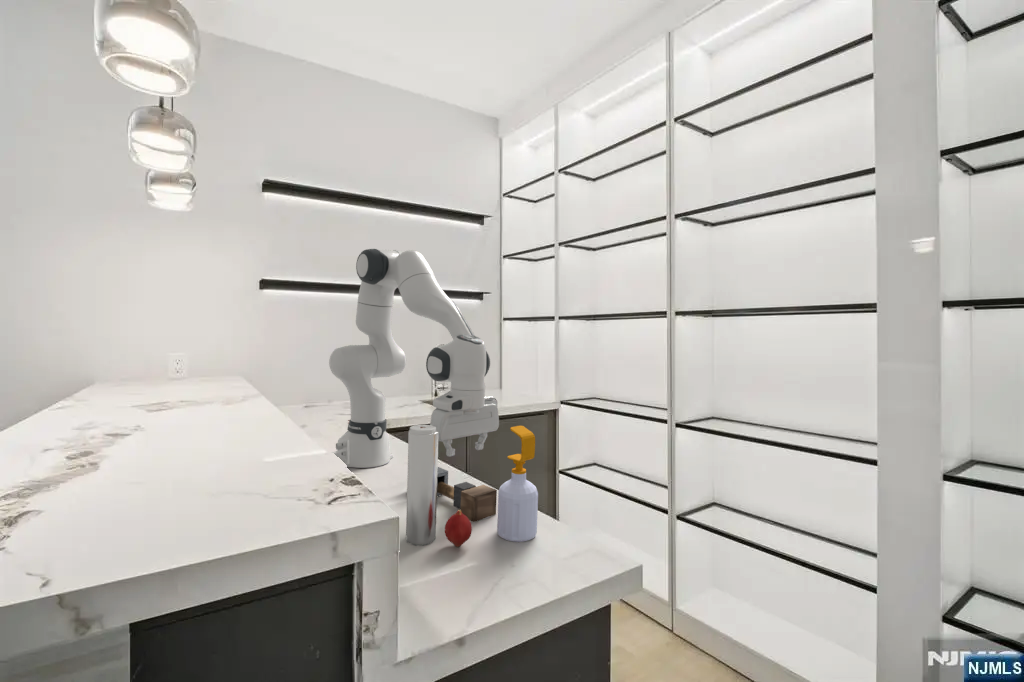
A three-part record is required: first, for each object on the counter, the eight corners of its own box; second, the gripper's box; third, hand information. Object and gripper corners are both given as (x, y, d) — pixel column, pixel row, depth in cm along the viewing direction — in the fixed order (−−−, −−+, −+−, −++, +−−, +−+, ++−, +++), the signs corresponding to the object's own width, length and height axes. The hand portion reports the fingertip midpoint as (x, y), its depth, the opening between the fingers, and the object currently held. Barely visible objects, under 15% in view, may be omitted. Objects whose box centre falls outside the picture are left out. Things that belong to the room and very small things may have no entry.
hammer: (433, 496, 129) (434, 476, 129) (445, 493, 132) (446, 473, 132) (474, 516, 117) (475, 494, 117) (487, 512, 120) (487, 490, 120)
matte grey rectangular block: (411, 489, 135) (412, 467, 135) (429, 485, 139) (429, 463, 139) (429, 498, 129) (430, 475, 129) (447, 493, 133) (448, 470, 133)
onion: (441, 542, 104) (442, 506, 104) (466, 538, 107) (467, 503, 106) (448, 554, 99) (449, 516, 99) (474, 550, 101) (476, 513, 101)
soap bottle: (516, 521, 116) (520, 421, 115) (544, 534, 110) (548, 428, 109) (488, 532, 110) (492, 426, 109) (517, 546, 103) (520, 434, 102)
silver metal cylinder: (429, 547, 102) (432, 431, 101) (400, 543, 103) (403, 428, 102) (439, 534, 108) (442, 424, 107) (413, 530, 109) (415, 422, 108)
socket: (460, 515, 119) (461, 491, 118) (482, 508, 124) (483, 484, 123) (473, 522, 115) (474, 497, 115) (495, 514, 120) (496, 490, 120)
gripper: (489, 393, 132) (487, 443, 132) (427, 400, 117) (425, 456, 118) (505, 397, 127) (502, 448, 128) (442, 405, 113) (440, 463, 113)
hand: (465, 452), depth 123 cm, fingers open, 8 cm apart
